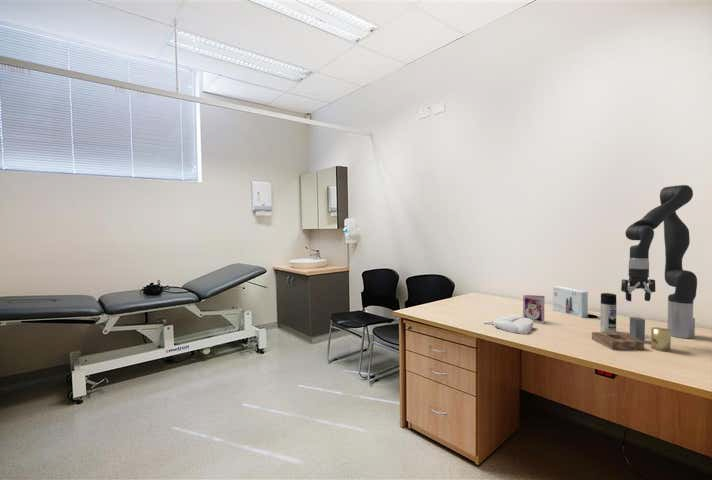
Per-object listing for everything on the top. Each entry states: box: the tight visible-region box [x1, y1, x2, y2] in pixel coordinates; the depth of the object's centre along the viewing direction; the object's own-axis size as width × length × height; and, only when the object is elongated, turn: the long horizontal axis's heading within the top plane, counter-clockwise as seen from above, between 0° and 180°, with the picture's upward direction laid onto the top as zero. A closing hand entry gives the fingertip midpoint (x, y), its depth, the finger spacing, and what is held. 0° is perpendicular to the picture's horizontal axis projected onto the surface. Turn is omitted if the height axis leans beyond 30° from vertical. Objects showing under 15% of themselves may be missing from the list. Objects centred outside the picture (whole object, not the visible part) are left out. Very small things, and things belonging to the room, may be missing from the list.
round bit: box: [650, 326, 672, 353], centre depth 153 cm, size 6×6×9 cm
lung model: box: [483, 314, 534, 335], centre depth 189 cm, size 7×17×25 cm
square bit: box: [629, 316, 646, 343], centre depth 164 cm, size 4×4×11 cm
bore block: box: [591, 331, 645, 351], centre depth 160 cm, size 14×14×4 cm
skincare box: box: [552, 285, 589, 319], centre depth 216 cm, size 21×5×16 cm, turn 17°
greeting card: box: [522, 294, 545, 325], centre depth 199 cm, size 11×7×15 cm, turn 42°
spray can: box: [600, 292, 617, 332], centre depth 178 cm, size 7×7×20 cm
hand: (637, 300), depth 164 cm, fingers open, 8 cm apart
